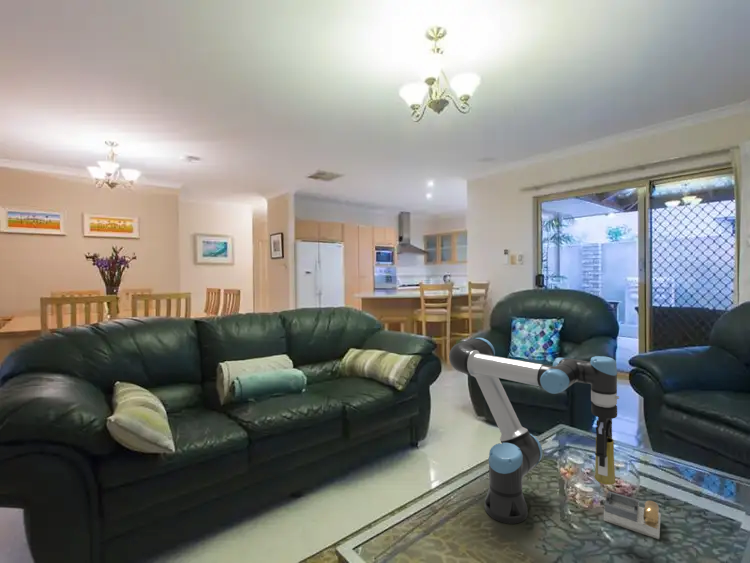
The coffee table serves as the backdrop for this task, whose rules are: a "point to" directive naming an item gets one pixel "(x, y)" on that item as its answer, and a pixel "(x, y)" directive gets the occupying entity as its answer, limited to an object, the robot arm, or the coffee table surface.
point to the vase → (611, 470)
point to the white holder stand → (632, 514)
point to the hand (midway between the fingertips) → (604, 470)
